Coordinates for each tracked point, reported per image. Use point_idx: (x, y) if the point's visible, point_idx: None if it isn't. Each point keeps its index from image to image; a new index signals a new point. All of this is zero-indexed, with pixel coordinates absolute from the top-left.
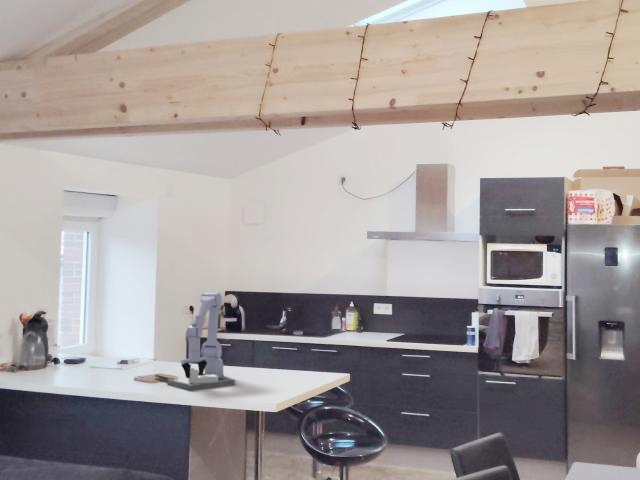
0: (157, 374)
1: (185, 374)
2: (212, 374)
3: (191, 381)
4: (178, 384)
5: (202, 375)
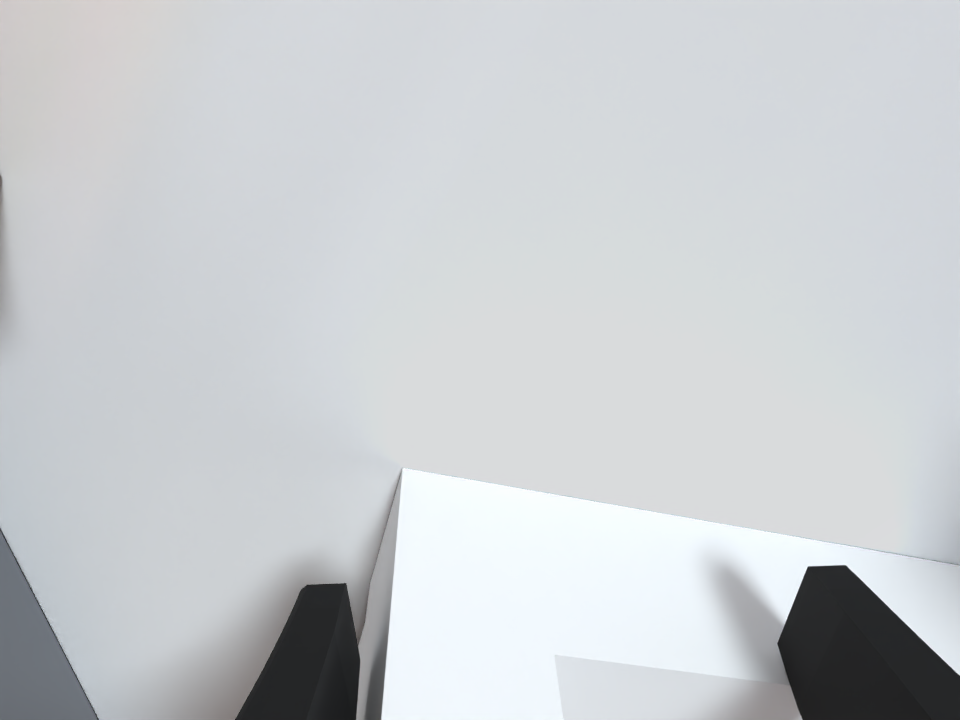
0: None
1: (260, 676)
2: None
3: None
4: None
5: (764, 717)
